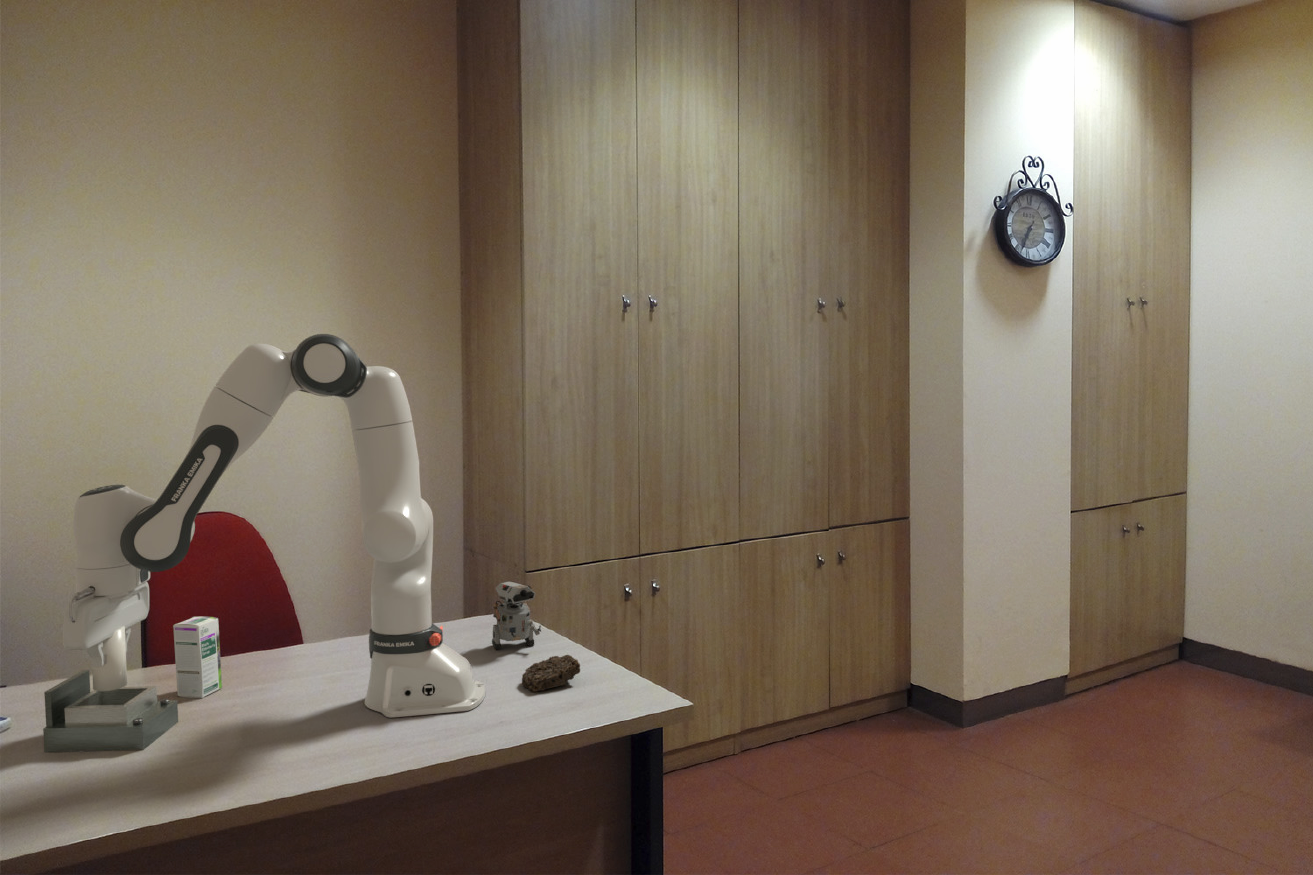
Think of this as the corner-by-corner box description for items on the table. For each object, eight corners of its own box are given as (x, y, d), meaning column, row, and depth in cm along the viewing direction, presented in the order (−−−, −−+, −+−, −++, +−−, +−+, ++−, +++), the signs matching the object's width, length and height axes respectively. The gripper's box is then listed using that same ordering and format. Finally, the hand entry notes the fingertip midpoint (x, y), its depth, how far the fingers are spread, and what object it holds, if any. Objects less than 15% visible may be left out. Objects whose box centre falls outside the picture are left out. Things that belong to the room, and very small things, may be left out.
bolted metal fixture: (178, 721, 162) (175, 667, 161) (143, 749, 150) (140, 691, 149) (86, 723, 161) (84, 669, 160) (44, 751, 149) (41, 693, 148)
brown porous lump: (569, 672, 188) (569, 648, 188) (585, 687, 179) (584, 662, 179) (516, 679, 184) (515, 655, 184) (528, 696, 175) (528, 670, 174)
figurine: (501, 658, 197) (500, 591, 196) (490, 643, 208) (489, 579, 207) (541, 653, 201) (541, 587, 199) (529, 639, 211) (528, 576, 210)
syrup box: (202, 698, 173) (199, 624, 172) (175, 696, 174) (172, 623, 173) (222, 688, 179) (219, 616, 178) (196, 686, 180) (193, 615, 179)
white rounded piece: (132, 680, 157) (130, 624, 157) (117, 690, 152) (114, 633, 152) (89, 681, 157) (87, 625, 156) (72, 691, 152) (69, 633, 151)
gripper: (89, 595, 143) (93, 680, 144) (155, 567, 164) (158, 642, 165) (49, 595, 143) (53, 680, 144) (119, 567, 163) (122, 642, 164)
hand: (109, 659), depth 154 cm, fingers closed on white rounded piece, 5 cm apart
